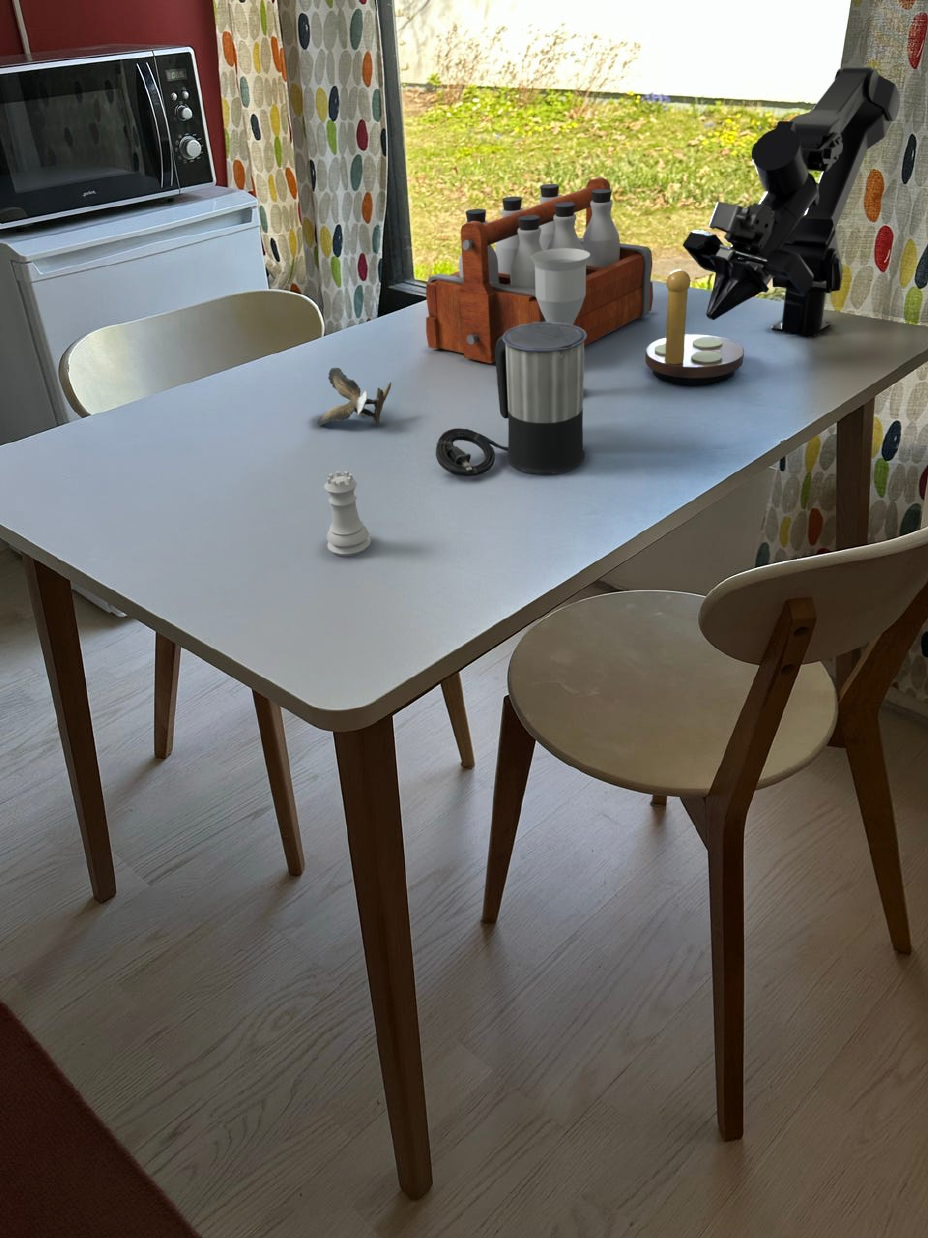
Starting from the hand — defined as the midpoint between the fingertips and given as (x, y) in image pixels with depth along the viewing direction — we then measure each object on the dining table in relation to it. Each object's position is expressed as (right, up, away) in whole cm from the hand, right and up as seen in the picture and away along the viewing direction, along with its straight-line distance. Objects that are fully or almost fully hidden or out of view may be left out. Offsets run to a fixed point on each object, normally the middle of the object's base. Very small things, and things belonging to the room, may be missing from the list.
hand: (709, 317), depth 136 cm
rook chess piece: (-44, -32, -30) cm, 62 cm away
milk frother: (-27, -22, -15) cm, 37 cm away
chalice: (-19, -10, +2) cm, 22 cm away
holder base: (-1, -6, +6) cm, 8 cm away
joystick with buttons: (-1, -4, +5) cm, 7 cm away
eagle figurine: (-47, -14, -2) cm, 49 cm away
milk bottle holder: (-20, +4, +23) cm, 31 cm away
